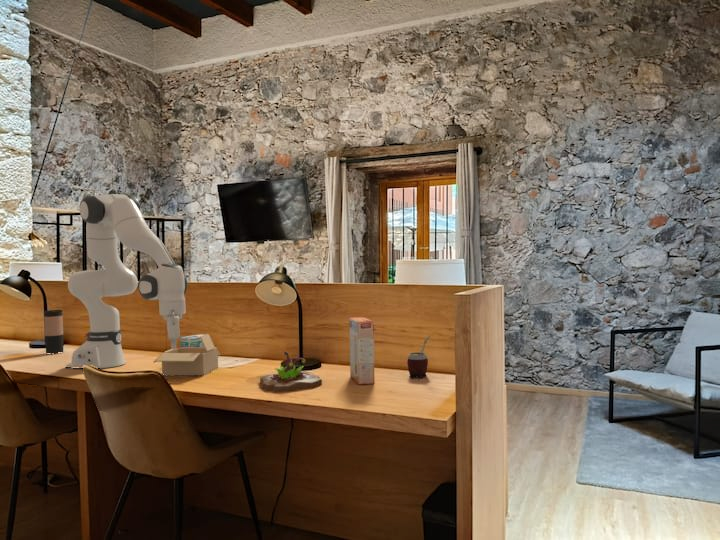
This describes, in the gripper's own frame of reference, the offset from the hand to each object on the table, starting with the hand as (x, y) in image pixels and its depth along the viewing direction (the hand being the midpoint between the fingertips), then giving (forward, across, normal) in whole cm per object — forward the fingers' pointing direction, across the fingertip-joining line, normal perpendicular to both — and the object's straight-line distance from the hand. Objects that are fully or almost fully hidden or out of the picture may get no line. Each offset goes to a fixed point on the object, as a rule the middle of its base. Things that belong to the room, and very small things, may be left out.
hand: (173, 348), depth 198 cm
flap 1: (+3, +5, -3) cm, 7 cm away
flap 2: (+3, +8, -13) cm, 16 cm away
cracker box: (+11, -30, -60) cm, 68 cm away
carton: (+11, +15, -5) cm, 19 cm away
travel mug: (+11, +87, +52) cm, 102 cm away
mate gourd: (+12, -34, -79) cm, 87 cm away
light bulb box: (+11, +32, -9) cm, 36 cm away
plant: (+12, -25, -36) cm, 45 cm away
